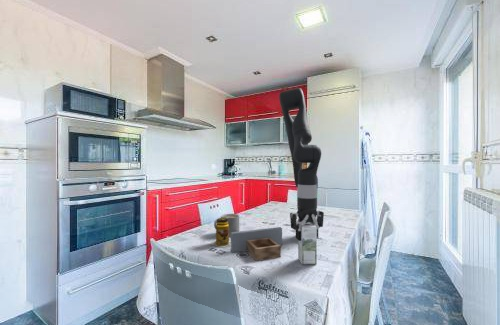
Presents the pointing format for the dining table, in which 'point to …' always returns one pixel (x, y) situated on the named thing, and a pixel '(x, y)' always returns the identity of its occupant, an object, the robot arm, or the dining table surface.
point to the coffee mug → (231, 222)
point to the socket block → (263, 249)
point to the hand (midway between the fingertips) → (307, 239)
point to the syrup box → (308, 244)
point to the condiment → (222, 233)
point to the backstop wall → (254, 237)
